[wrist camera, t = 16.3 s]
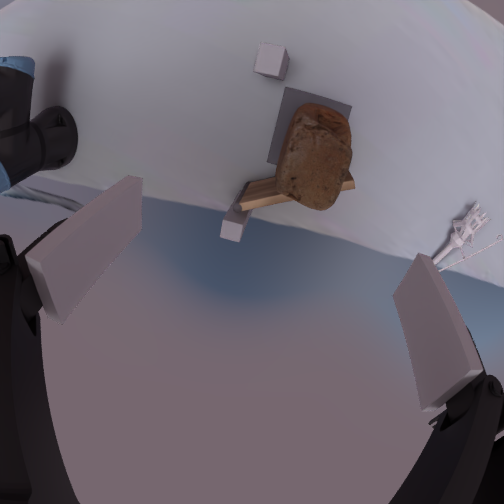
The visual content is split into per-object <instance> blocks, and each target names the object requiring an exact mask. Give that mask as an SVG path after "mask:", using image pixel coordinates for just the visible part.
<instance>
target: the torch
mask: <svg viewBox="0 0 504 504" xmlns="http://www.w3.org/2000/svg"><path fill="white" fill-rule="evenodd" d="M475 204H476V203H475ZM474 207H475V205H474V206H473V208H474ZM478 207H479V204H478V205H477V207H476V208H475V209H473V208H472V209H471V210H470V211H469V212H468V214H469V213H471V214H470V215H469V217H468V218H467V219H466V217H467V215H468V214H467V215H466V217H465V218H464V219H463V220H462V221H461V220H453V223H454V224H453V226H454V227H455V228H454V229H456V227H458V226H462V227H461V230H460V232H458V231H457V229H456V230H455V231H454V232H453V233H451V237H450V243H449V244H448V245H447V246H446V247H445V248H444V249H443V250H442V251H441V252H440V253H439V254H438V255H437V256H436V257H435V258H434V259H433V260H432V261H433V263H434V265H436V264H437V263H438V262H439V261H440V260H441V259H442V258H443V257H445V256H446V255H447V254H448V253H449V252H450V251H451V250H452V249H453V248H460V249H461V253H462V256H463V259H462V260H460V261H458V262H456V263H454V264H452V265H449V266H447V267H445V268H443V269H441V270H439V271H438V272H440V271H442V270H445V269H447V268H449V267H451V266H453V265H455V264H457V263H459V262H461V261H463V260H465V259H467V258H469V257H471V256H473V255H475V254H477V253H479V252H481V251H483V250H485V249H487V248H489V247H491V246H493V245H494V244H496V243H498V242H500V241H502V240H503V237H502V235H501V234H499V235H497V236H496V238H497V239H498V236H500V235H501V238H502V239H500V240H498V241H497V242H495V243H493V244H491V245H489V246H487V247H485V248H484V249H482V250H480V251H478V252H476V253H474V254H472V255H470V256H468V257H466V258H465V256H464V253H463V250H462V245H463V244H464V243H465V241H468V242H470V243H471V246H470V245H469V246H470V247H473V239H474V235H475V234H476V233H477V232H478V231H479V230H480V229H481V228H482V227H483V226H484V225H485V224H486V223H487V222H488V221H489V220H487V219H488V218H489V217H488V218H484V220H482V218H483V217H484V216H485V214H486V213H487V212H485V213H483V214H482V215H481V216H480V215H479V213H480V210H481V208H480V209H479V210H478V211H477V212H476V210H477V209H478ZM471 216H472V218H471V219H470V217H471ZM469 219H470V220H469ZM473 219H475V220H476V222H475V223H474V224H473V225H472V224H471V222H472V221H473ZM468 220H469V221H468ZM486 220H487V221H486ZM490 220H491V219H490ZM455 221H457V222H458V223H455ZM485 221H486V222H485ZM484 222H485V223H484ZM478 223H479V225H478V226H477V227H476V228H475V229H474V227H475V226H476V225H477V224H478ZM480 226H481V227H480ZM479 227H480V228H479ZM478 228H479V229H478ZM477 229H478V230H477ZM464 230H465V231H464ZM476 230H477V231H476ZM463 231H464V233H463V235H461V234H462V232H463ZM470 233H471V240H468V239H466V238H467V237H468V236H469V235H470ZM466 244H467V243H466ZM467 245H468V244H467Z"/></svg>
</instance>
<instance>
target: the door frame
mask: <svg viewBox="0 0 504 504" xmlns="http://www.w3.org/2000/svg"><path fill="white" fill-rule="evenodd" d="M288 63H289V56H288V53H287V50H286V47H282V46H278V45H273V44H267V43H262V42H260V46H259V50H258V54H257V58H256V63H255V67H254V72H256V73H259V74H261V75H263V76H266V77H271V78H275V79H280V80H284V78H285V74H286V70H287V66H288ZM240 193H241V191H239V193H238V195H237V196H236V198H235V200H234V202H233V203H232V205H231V207H230V208H229V210H228V212H227V214H226V216H225V217H224V219H223V223H222V228H221V234H220V237H221V238H225V239H229V240H233V241H237V242H240V239H241V237H242V234H243V232H244V229H245V227H246V224H247V222H248V219H249V217H250V215H251V212H252V210H253V209H249V210H245V211H241V212H240V213H236V212H234V211H233V205H234V204H235V202H236V200H237V198H238V197H239V195H240Z"/></svg>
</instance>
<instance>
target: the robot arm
mask: <svg viewBox="0 0 504 504" xmlns="http://www.w3.org/2000/svg"><path fill="white" fill-rule="evenodd" d="M34 70H35V62H34V60H33V59H32V58H30V57H24V56H9V57H0V193H2V192H4V191H7V190H9V189H10V188H11V187H12V186H14V185H16V184H17V183H19V182H20V181H22V180H24V179H26V178H27V177H29V176H31V175H33V174H34V173H36V172H38V171H43V170H56V169H59V168H61V167H63V166H65V165H67V164H68V163H69V162H70V161H71V160H72V158H73V157H74V155H75V152H76V148H77V129H76V125H75V122H74V119H73V117H72V116H71V114H70V113H69V112H68V111H67V110H66V109H65V108H63V107H60V106H55V107H51V108H48V109H45V110H44V111H42V112H41V113H40V114H38V115H37V116H36V117H34V118H33V119H32V120H31V121H30V109H31V98H32V89H33V81H34V79H35V78H34ZM142 179H143V178H140V177H134V176H129V175H128V176H127V177H125V178H124V179H122V180H121V181H119V182H118V183H116V184H115V185H113V186H112V187H110V188H109V189H107V190H106V191H105V192H103V193H102V194H100V195H99V196H97V197H96V198H95V199H93V200H92V201H91V202H89V203H88V204H86V205H85V206H84V207H82V208H81V209H80V210H78V211H77V212H76V213H74V214H73V215H72V216H71V217H69V218H66V219H64V220H62V221H59V222H57V223H55V224H54V225H53V226H52V227H50V228H49V229H48V230H47V232H44V233H43V234H42V235H41V237H38V238H37V239H36V240H35V241H34V242H33V243H32V244H30V245H29V246H28V247H27V248H26V249H25V250H24V251H22V253H20V254H19V255H18V256H17V255H16V251H15V248H14V245H13V241H12V238H11V237H10V236H9V235H6V234H3V235H0V504H80V503H79V502H78V500H77V498H76V496H75V493H74V491H73V488H72V486H71V483H70V480H69V478H68V475H67V472H66V469H65V466H64V463H63V460H62V457H61V453H60V450H59V446H58V443H57V439H56V435H55V431H54V427H53V422H52V418H51V414H50V408H49V403H48V397H47V391H46V384H45V377H44V369H43V359H42V347H41V330H40V329H41V327H40V316H39V313H38V311H39V310H40V309H41V307H42V306H43V308H44V310H45V312H46V315H47V317H48V318H50V319H52V320H54V321H56V322H57V323H59V324H61V325H63V324H64V322H65V321H66V319H67V318H68V317H69V315H70V314H71V313H72V311H73V310H74V309H75V308H76V306H77V305H78V304H79V302H80V301H81V300H82V298H83V297H84V296H85V295H86V293H87V292H88V291H89V290H90V288H91V287H92V286H93V285H94V283H95V282H96V281H97V280H98V279H99V277H100V276H101V275H102V274H103V273H104V271H105V270H106V269H107V268H108V267H109V266H110V264H111V263H112V262H113V261H114V260H115V258H117V256H118V255H119V254H120V253H121V252H122V251H123V250H124V248H125V247H126V246H127V245H128V244H129V243H130V242H131V241H132V240H133V239H134V237H135V236H136V235H137V234H138V233H139V232H140V231H141V230H142ZM393 298H394V302H395V305H396V308H397V311H398V314H399V318H400V321H401V324H402V328H403V331H404V335H405V339H406V343H407V347H408V350H409V354H410V359H411V363H412V367H413V371H414V376H415V381H416V385H417V390H418V395H419V401H420V406H421V411H435V410H437V409H438V408H439V407H441V406H442V405H443V404H444V403H446V407H447V409H446V410H445V411H443V412H442V413H441V414H439V415H438V416H437V417H435V418H434V419H432V420H431V421H430V422H429V425H431V424H432V423H433V422H435V421H438V422H437V424H436V425H434V426H433V428H434V430H433V432H432V434H431V436H430V438H429V440H428V442H427V444H426V446H425V447H424V449H423V451H422V453H421V455H420V456H419V458H418V460H417V462H416V463H415V465H414V467H413V468H412V470H411V471H410V473H409V475H408V476H407V478H406V479H405V481H404V482H403V484H402V485H401V487H400V489H399V490H398V491H397V493H396V494H395V496H394V497H393V498H392V500H391V501H390V503H389V504H504V436H503V437H501V438H500V439H498V440H497V441H495V442H494V440H495V436H496V435H497V434H498V433H500V432H501V431H503V430H504V392H503V388H502V385H501V383H500V382H499V381H498V379H497V378H496V377H494V376H493V375H486V372H485V369H484V366H483V364H482V361H481V358H480V355H479V353H478V350H477V349H476V345H475V343H474V341H473V338H472V336H471V333H470V331H469V329H468V328H467V326H466V325H465V323H464V321H463V319H462V316H461V314H460V312H459V310H458V308H457V306H456V304H455V302H454V300H453V298H452V296H451V294H450V292H449V290H448V288H447V286H446V284H445V282H444V281H443V279H442V277H441V275H440V273H439V272H438V270H437V268H436V266H435V265H434V263H433V261H432V259H431V258H430V257H429V256H427V255H424V254H421V253H418V254H417V256H416V258H415V259H414V261H413V263H412V265H411V266H410V268H409V270H408V271H407V273H406V275H405V276H404V278H403V280H402V281H401V283H400V285H399V286H398V288H397V289H396V291H395V292H394V294H393Z"/></svg>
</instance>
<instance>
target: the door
mask: <svg viewBox="0 0 504 504" xmlns="http://www.w3.org/2000/svg"><path fill="white" fill-rule="evenodd" d="M275 182H276V178H275V177H272V178H268V179H264V180H260V181H255V182H247V183H246V184H245V186H244V188H243V190H242V191H241V193H240V195H239V197H238V198H237V200H236V202H235V204H234V205H233V211H234V212H236V213H240V212H241V211H245V210H249V209H254V208H259V207H263V206H268V205H273V204H277V203H282V202H287V201H292V200H293V199H291V198H289V197H286V196H284V195H282V194H280V193H279V192H278V191H276V187H275ZM350 189H355V183H354V179H353V178H352V176H351V174H350V172H349V170H348V172H347V175H346V178H345V180H344V182H343V185H342V188H341V191H344V190H350Z"/></svg>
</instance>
